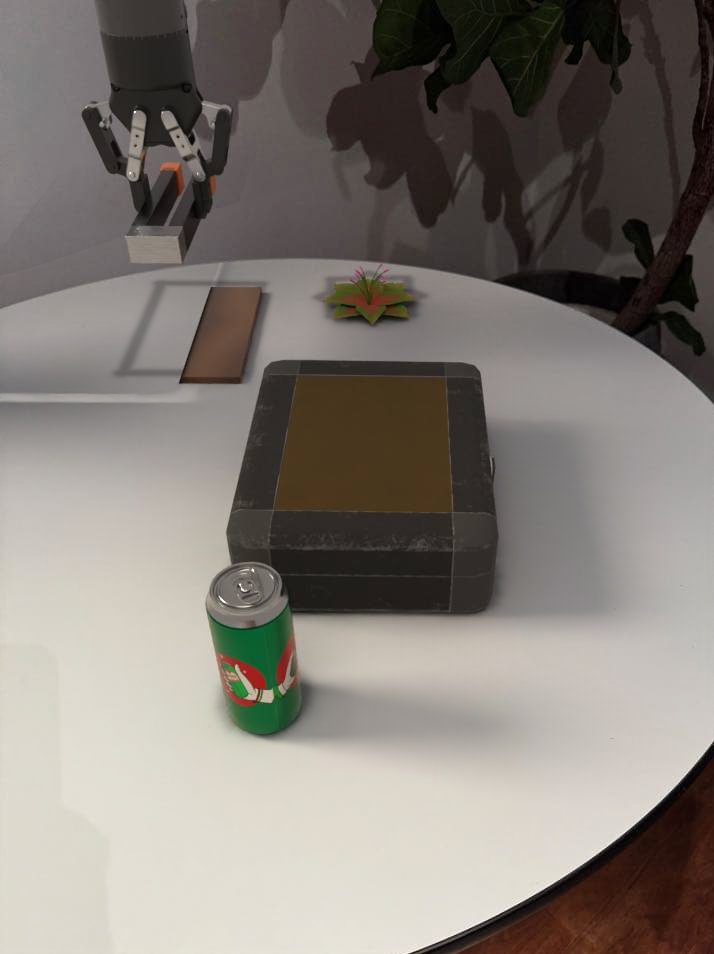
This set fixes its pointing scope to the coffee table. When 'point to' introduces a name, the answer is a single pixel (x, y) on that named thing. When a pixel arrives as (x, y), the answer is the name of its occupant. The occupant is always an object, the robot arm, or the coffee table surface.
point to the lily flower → (369, 298)
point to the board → (222, 336)
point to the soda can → (255, 646)
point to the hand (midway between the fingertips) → (175, 215)
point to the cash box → (370, 486)
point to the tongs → (148, 230)
